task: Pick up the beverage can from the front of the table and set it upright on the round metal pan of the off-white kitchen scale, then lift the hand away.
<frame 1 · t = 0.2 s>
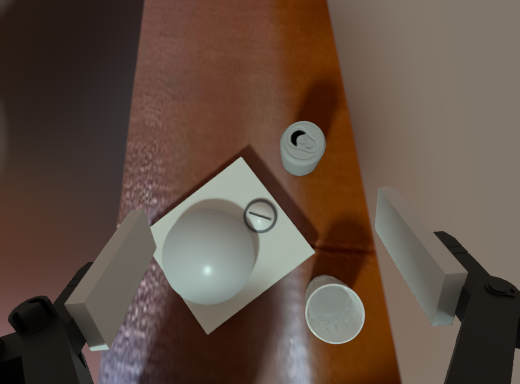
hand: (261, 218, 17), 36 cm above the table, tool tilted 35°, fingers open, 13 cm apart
kitchen scale: (228, 242, 53), on the table
beverage can: (299, 158, 53), on the table
white cup: (325, 294, 51), on the table
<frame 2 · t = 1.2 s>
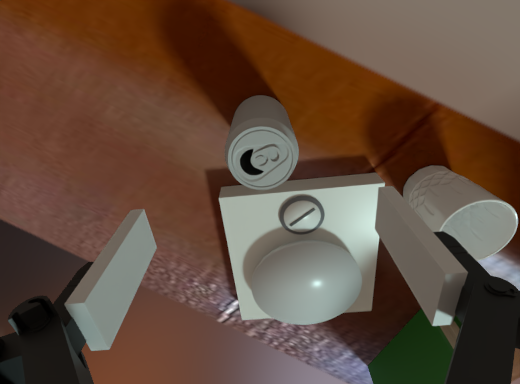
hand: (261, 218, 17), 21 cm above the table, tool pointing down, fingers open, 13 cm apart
kitchen scale: (301, 247, 44), on the table
beverage can: (260, 121, 35), on the table
hardback book: (410, 342, 54), on the table
white cup: (427, 187, 40), on the table
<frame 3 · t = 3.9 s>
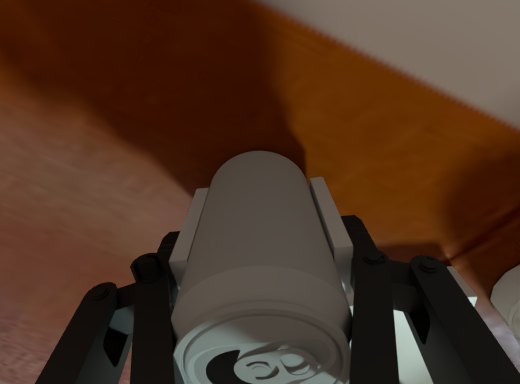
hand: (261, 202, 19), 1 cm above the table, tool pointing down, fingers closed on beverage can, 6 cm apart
kitchen scale: (322, 362, 29), on the table
beverage can: (259, 190, 20), on the table, touching gripper
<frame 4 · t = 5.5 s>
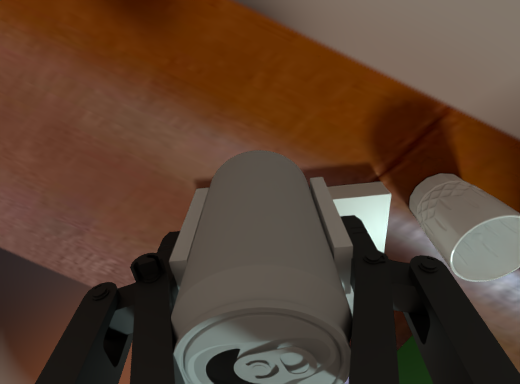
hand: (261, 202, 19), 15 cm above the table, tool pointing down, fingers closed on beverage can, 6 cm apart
kitchen scale: (299, 260, 41), on the table
beverage can: (259, 190, 20), point 14 cm above the table, touching gripper
hardback book: (414, 354, 52), on the table
white cup: (435, 196, 37), on the table
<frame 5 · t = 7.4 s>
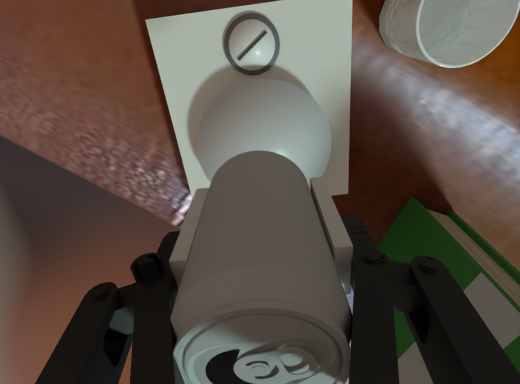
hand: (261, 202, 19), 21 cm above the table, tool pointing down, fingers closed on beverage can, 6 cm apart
kitchen scale: (260, 112, 36), on the table
beverage can: (259, 190, 20), point 19 cm above the table, touching gripper
hardback book: (398, 249, 47), on the table
white cup: (408, 17, 32), on the table
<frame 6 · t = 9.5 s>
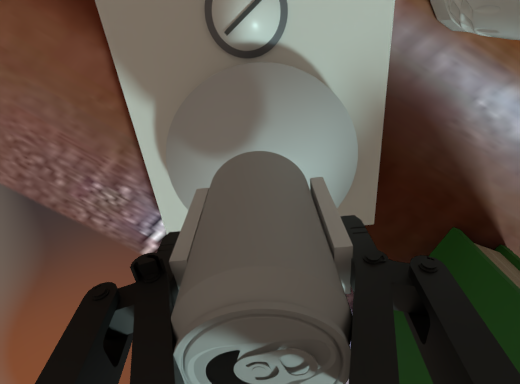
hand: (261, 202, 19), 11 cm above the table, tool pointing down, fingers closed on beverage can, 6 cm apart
kitchen scale: (258, 112, 27), on the table
beverage can: (259, 190, 20), point 9 cm above the table, touching gripper
hardback book: (430, 289, 37), on the table
when the fingers open (8 cm above the table, at t = 10.9 s): beverage can drops 1 cm, resting on kitchen scale.
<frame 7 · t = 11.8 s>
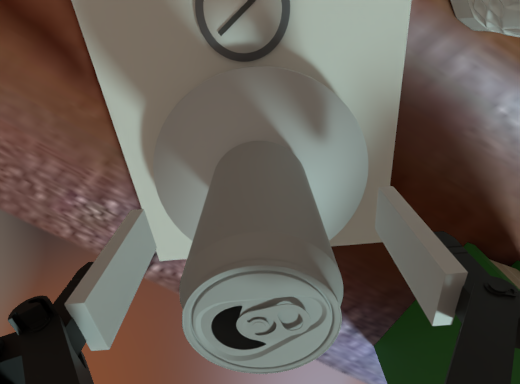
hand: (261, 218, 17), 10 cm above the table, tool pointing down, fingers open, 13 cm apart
kitchen scale: (256, 120, 24), on the table
beverage can: (259, 179, 21), point 5 cm above the table, touching kitchen scale
hardback book: (441, 307, 35), on the table
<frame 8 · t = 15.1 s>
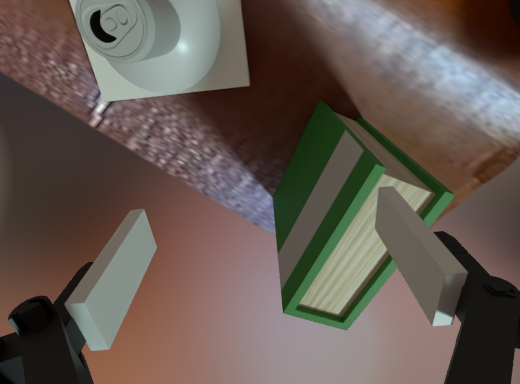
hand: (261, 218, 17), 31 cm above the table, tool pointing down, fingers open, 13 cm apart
beverage can: (155, 25, 35), point 5 cm above the table, touching kitchen scale
hardback book: (314, 160, 49), on the table
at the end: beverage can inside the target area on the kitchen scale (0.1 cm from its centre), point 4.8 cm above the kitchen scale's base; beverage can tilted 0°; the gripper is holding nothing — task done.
